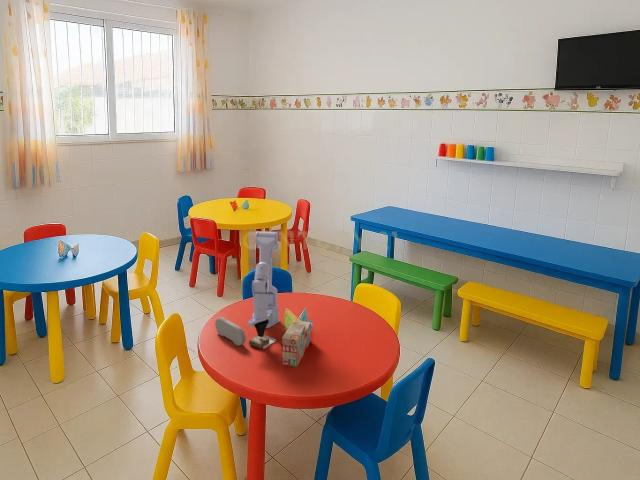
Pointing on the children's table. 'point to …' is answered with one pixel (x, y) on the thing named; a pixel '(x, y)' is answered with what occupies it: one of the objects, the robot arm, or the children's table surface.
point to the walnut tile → (259, 341)
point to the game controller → (230, 331)
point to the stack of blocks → (295, 343)
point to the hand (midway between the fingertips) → (260, 335)
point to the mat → (269, 341)
